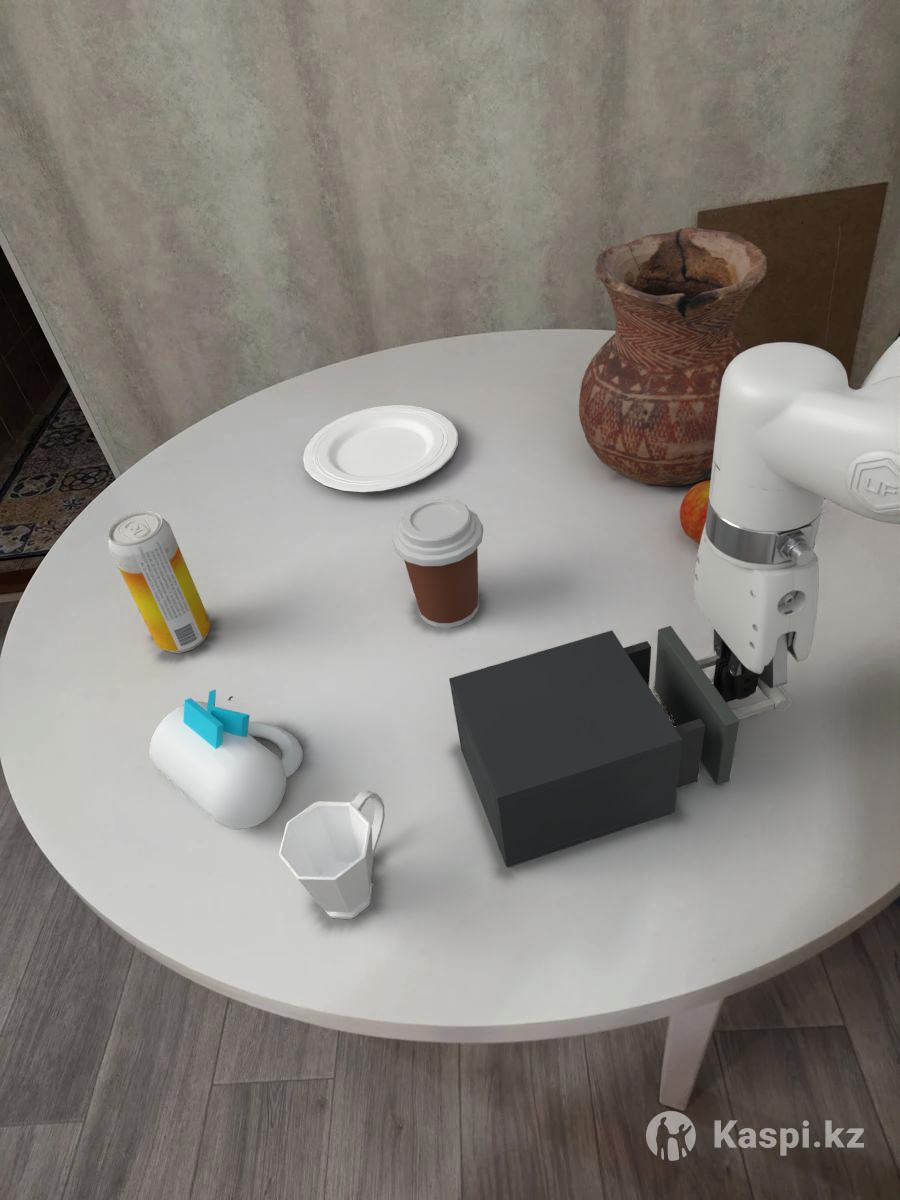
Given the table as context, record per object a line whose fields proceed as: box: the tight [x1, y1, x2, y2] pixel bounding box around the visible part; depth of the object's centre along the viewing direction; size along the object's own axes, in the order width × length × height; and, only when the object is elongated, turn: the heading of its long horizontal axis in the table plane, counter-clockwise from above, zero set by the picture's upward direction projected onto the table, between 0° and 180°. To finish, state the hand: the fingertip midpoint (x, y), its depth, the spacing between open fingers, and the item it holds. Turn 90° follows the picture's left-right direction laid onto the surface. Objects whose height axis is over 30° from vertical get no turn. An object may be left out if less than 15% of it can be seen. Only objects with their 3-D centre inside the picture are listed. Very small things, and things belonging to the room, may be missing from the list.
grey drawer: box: [623, 625, 792, 789], centre depth 72 cm, size 20×11×8 cm, turn 106°
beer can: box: [107, 510, 211, 654], centre depth 89 cm, size 6×6×15 cm
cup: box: [278, 790, 386, 920], centre depth 67 cm, size 7×10×8 cm
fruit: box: [679, 480, 711, 544], centre depth 93 cm, size 7×7×8 cm
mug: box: [148, 689, 304, 830], centre depth 76 cm, size 12×9×12 cm
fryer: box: [448, 629, 682, 868], centre depth 71 cm, size 15×13×10 cm
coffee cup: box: [391, 496, 484, 629], centre depth 88 cm, size 9×9×12 cm
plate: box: [302, 404, 459, 494], centre depth 115 cm, size 21×21×2 cm
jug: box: [578, 226, 768, 487], centre depth 100 cm, size 22×21×25 cm
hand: (733, 691), depth 73 cm, fingers closed
